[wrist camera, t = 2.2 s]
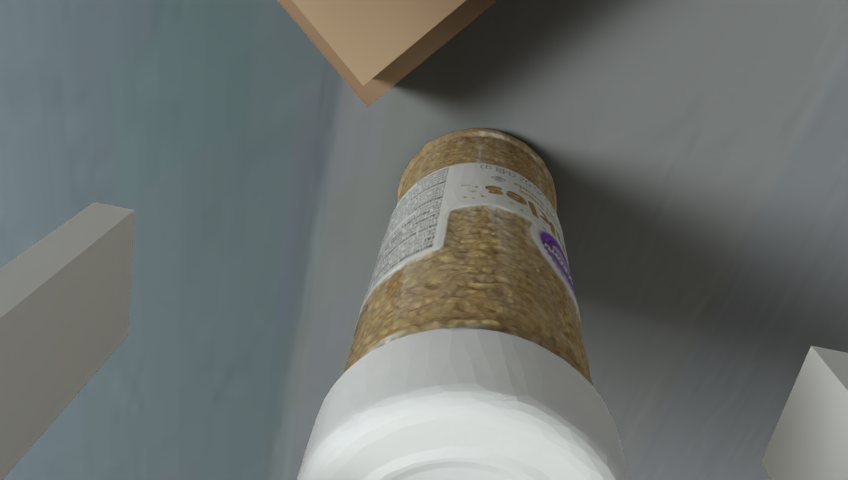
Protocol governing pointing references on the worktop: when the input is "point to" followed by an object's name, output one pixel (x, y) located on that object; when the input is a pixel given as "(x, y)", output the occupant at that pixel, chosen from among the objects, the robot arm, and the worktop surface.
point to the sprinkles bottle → (468, 335)
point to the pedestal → (381, 35)
